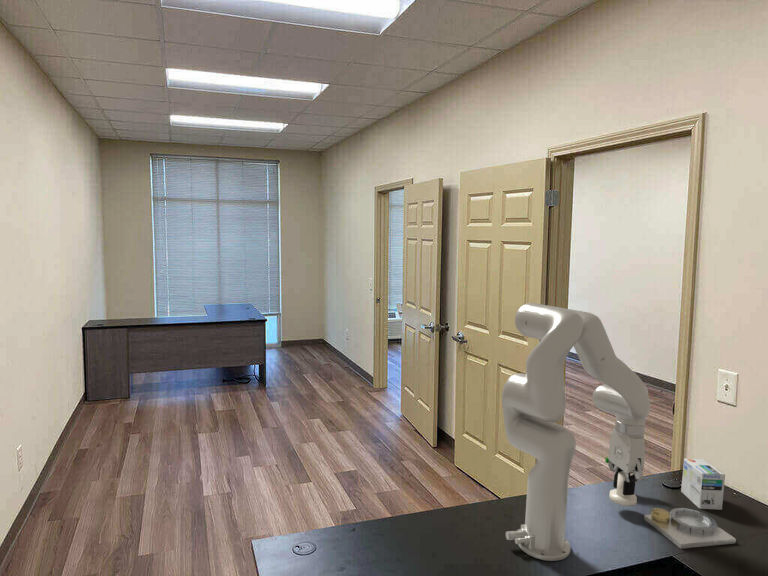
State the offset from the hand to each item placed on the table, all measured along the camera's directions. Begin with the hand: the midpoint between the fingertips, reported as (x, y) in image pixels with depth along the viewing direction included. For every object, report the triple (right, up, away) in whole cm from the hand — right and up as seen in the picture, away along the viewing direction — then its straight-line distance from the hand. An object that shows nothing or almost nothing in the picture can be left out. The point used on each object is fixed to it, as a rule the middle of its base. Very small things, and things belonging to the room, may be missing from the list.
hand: (623, 490), depth 155 cm
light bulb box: (+26, -6, +8) cm, 28 cm away
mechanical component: (+5, -5, +13) cm, 15 cm away
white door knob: (0, -3, 0) cm, 3 cm away
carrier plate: (+13, -8, -8) cm, 18 cm away
